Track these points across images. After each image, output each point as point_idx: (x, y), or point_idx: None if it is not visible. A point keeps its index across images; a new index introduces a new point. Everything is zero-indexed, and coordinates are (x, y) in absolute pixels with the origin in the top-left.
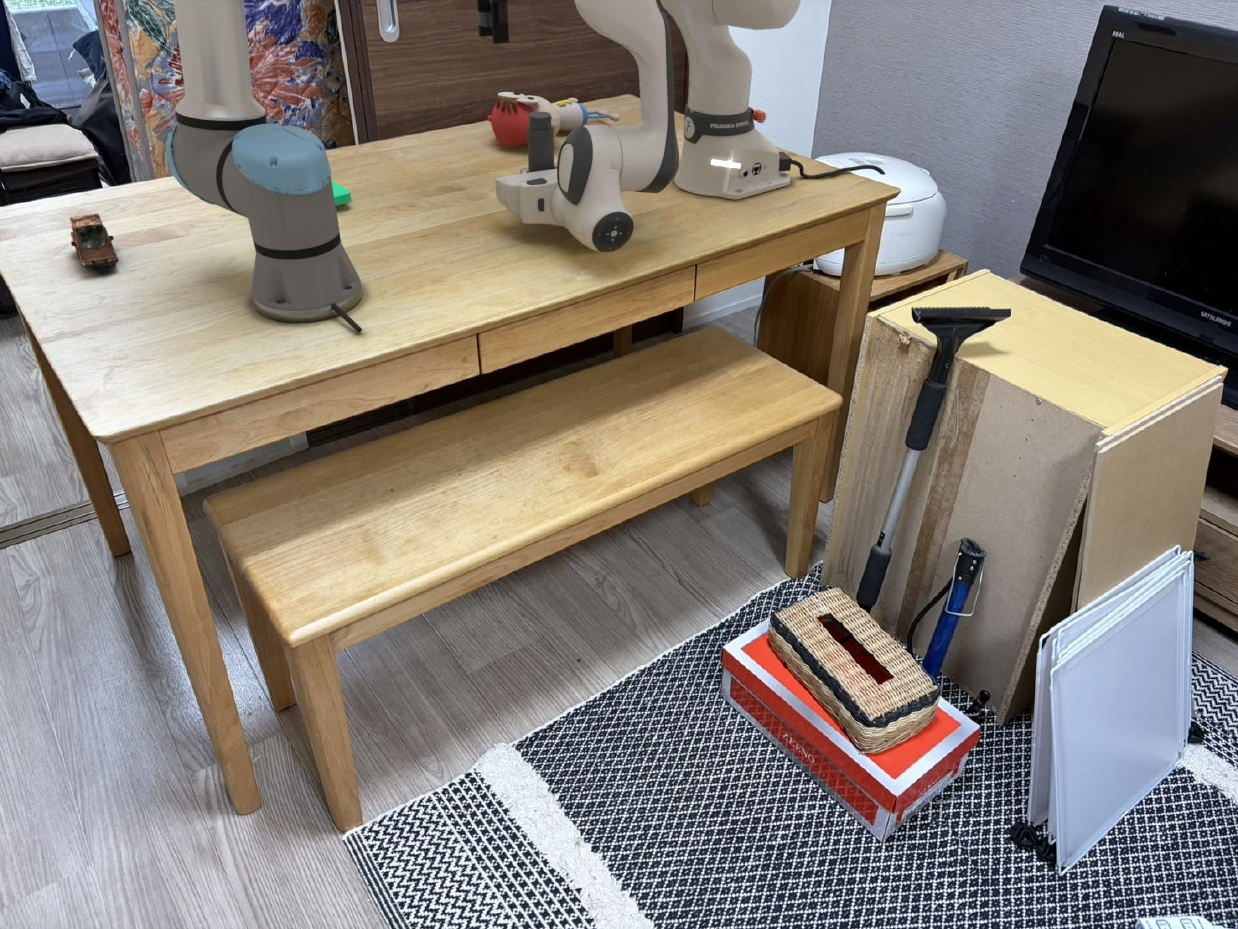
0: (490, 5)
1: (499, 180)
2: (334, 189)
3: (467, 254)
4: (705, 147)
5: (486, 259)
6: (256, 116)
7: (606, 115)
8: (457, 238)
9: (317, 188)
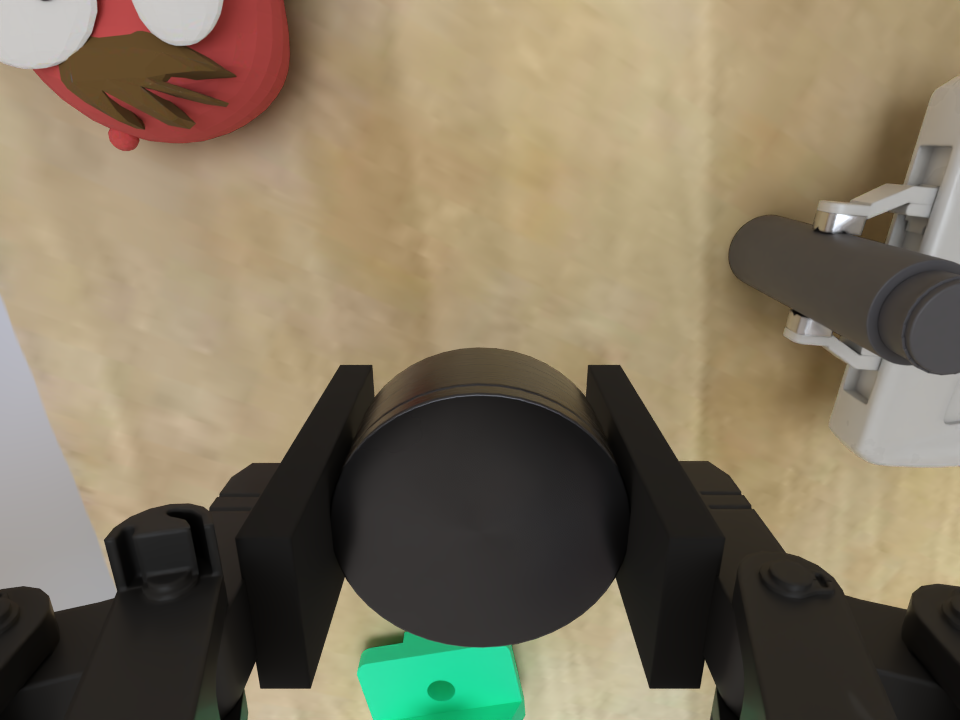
0: (322, 499)
1: (900, 466)
2: (469, 665)
3: (871, 510)
4: None
5: (920, 488)
6: None
7: None
8: (785, 498)
9: None
